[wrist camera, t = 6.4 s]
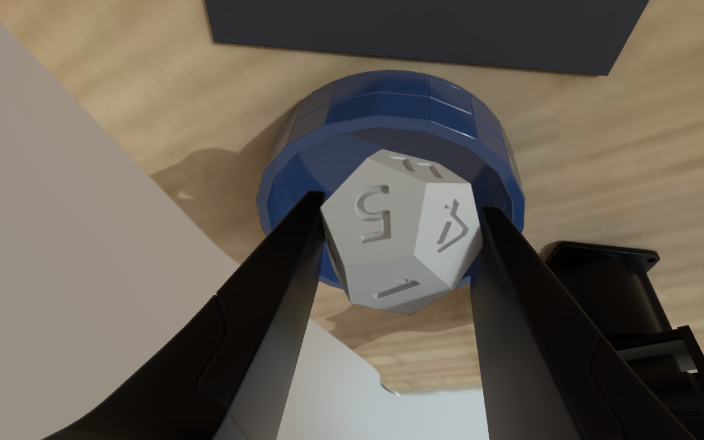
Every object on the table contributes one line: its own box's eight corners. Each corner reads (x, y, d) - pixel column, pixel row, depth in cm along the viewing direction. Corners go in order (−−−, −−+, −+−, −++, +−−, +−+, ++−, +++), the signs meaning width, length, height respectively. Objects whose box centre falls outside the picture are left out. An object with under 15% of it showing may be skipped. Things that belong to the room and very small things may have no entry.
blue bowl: (554, 83, 18) (577, 134, 16) (474, 259, 29) (480, 308, 26) (260, 57, 19) (234, 102, 16) (285, 239, 30) (272, 284, 27)
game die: (295, 173, 10) (266, 273, 8) (420, 91, 8) (423, 197, 6) (381, 246, 12) (375, 342, 10) (501, 194, 10) (524, 302, 8)
